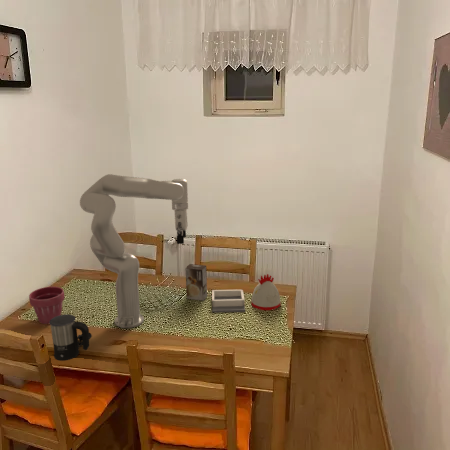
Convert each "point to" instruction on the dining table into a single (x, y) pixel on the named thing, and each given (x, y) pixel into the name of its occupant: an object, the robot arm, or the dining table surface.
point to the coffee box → (196, 282)
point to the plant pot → (47, 303)
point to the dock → (228, 301)
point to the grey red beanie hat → (265, 295)
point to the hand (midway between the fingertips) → (181, 240)
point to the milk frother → (68, 337)
